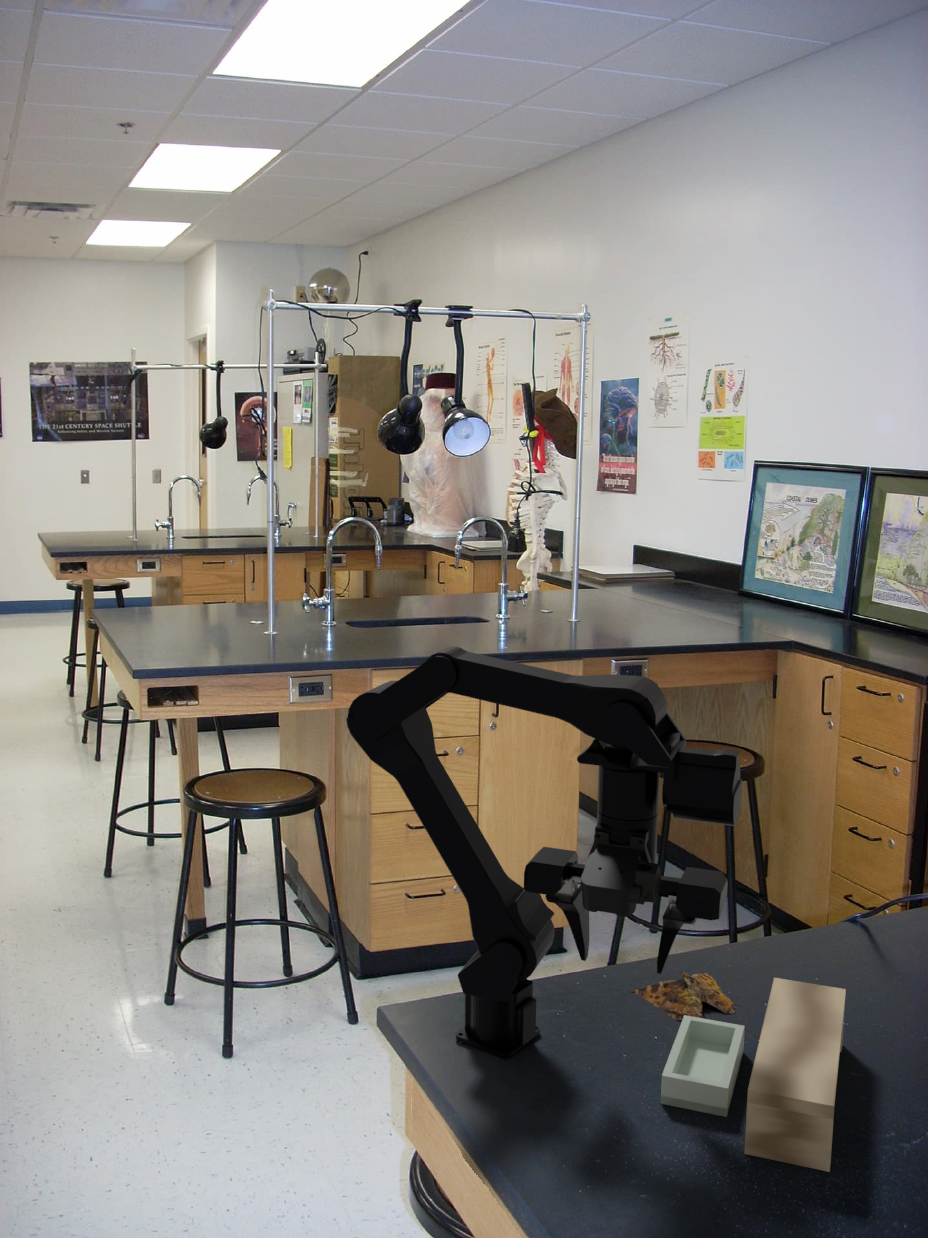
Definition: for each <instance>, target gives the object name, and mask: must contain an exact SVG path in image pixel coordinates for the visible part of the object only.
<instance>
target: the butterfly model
mask: <svg viewBox="0 0 928 1238" xmlns="http://www.w3.org/2000/svg"><path fill="white" fill-rule="evenodd" d="M680 976H681V977H682V978H679V979H672V980H663V981H659V982H655V983H651V984H648V985H644V986H642V987H640V988H637V989H634V990H633V991H630V992H629V993H631V994H636V995H638V996H639V997H640V998H643V999H644V1000H645V1001H647V1002H649V1003H650V1004H652V1005H653V1006H654V1007H656V1008H658V1009H661V1010H662V1011H663V1012H665V1013H666V1014H667V1015H668V1016H669V1017H670V1018H671V1019H673V1020H675V1021H680V1022H682V1020H683V1017H684V1015H687V1016H692V1017H698V1018H703V1019H704V1016H703V1013H702V1012H703V1003H704V1002H705V1003H707V1004H708V1005H710V1006H712V1007H713V1008H714V1009H716V1010H717V1009H718V1010H719V1011H720V1012H721V1013H723V1014H725V1015H734V1014H735V1013H736V1012H737V1011H736V1010H738V1007H737V1006H736V1004H735V1003H734V1001H733V1000H732V999H730V998H729V997H727V996H726V994H724V993H723V992H722V989H721V987H720V986H719V985H718V983H717V981H716V980H715V979H714V978H713V977H712V974H710V973H708V972H707V973H706V972H703V973H699V972H698V973H694V974H692V975H690V973H688V972H687V971H686V972H682V971H681V972H680ZM702 1002H703V1003H702Z"/></svg>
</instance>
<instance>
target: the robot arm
mask: <svg viewBox="0 0 928 1238" xmlns="http://www.w3.org/2000/svg"><path fill="white" fill-rule="evenodd" d="M450 693H451V694H456V695H459V696H463V697H467V698H471V699H475V700H480V701H484V702H488V703H492V704H496V705H500V706H505V707H509V708H513V709H517V710H522V711H526V712H530V713H535V714H538V715H543V716H546V717H550V718H551V717H552V718H555V719H558V720H560V721H563V722H566V723H568V724H570V725H571V726H572V727H574V728H575V729H577V730H578V731H580V732H581V733H583V734H584V735H586V736H588V737H590V738H593V740H592V742H591V744H590V745H589V746H587V747H586V748H585V749H584V750H583V751H582V752H581V753H580V754H578V755H577V757H576V761H577V762H578V763H579V764H583V765H591V766H598V775H597V776H598V778H597V783H598V784H597V805H596V806H597V811H596V812H597V813H596V815H597V816H596V826H595V827H594V835H593V843H592V846H591V848H590V850H589V854H588V856H587V861H586V863H585V864H583V863H579V856H578V853H577V850H570V849H564V848H556V847H548V846H543V847H542V848H541V849H539V850H538V851H537V852H536V853H535V854H534V855H533V857H532V858H531V859H530V860H529V862H527V864H525V869H524V873H523V886H521V885H520V884H519V883H518V882H516V881H514V880H513V879H512V878H511V877H509V876H508V875H507V873H506V871H504V868H503V866H502V865H501V864H500V862H499V860H498V859H497V856H496V854H495V853H494V851H493V850H492V848H491V846H490V844H489V843H488V841H487V839H486V837H485V835H484V834H483V832H482V831H481V829H480V827H479V826H478V823H477V822H476V820H475V819H474V817H473V815H472V813H471V811H470V810H469V808H468V806H467V805H466V802H465V801H464V799H463V798H462V796H461V794H460V793H459V791H458V789H457V788H456V786H455V784H454V782H453V781H452V779H451V777H450V775H449V774H448V772H447V770H446V769H445V766H444V765H443V763H442V762H441V761H440V760H441V759H439V756H438V753H437V751H436V750H437V749H436V744H435V737H434V728H433V724H432V721H431V718H430V715H429V713H428V710H427V709H428V708H429V707H430V706H432V705H433V704H435V703H436V702H438V701H439V700H441V699H442V698H444V697H445V696H446V695H447V694H450ZM667 706H668V702H667V700H666V696H665V693H664V692H663V691H662V689H661V687H659V684H658V683H657V682H655V681H654V680H652V679H650V678H649V677H646V676H641V675H629V674H627V675H625V674H595V675H579V674H578V675H577V674H574V675H572V674H568V673H566V672H559V671H556V670H555V671H554V670H551V669H547V668H543V667H538V666H533V665H529V664H524V663H520V662H516V661H511V660H507V659H503V658H498V657H493V656H489V655H485V654H480V653H476V652H475V653H474V652H472V651H467V650H465V649H463V648H462V647H459V646H448V647H446V648H443V649H441V650H439V651H437V652H435V653H433V654H431V655H430V656H429V657H427V659H426V660H425V662H423V663H421V664H420V665H419V666H417V667H416V668H414V670H412V671H410V672H409V673H407V674H406V675H404V676H403V677H401V678H400V679H398V680H389V681H386V682H384V683H381V684H380V685H378V686H375V687H374V688H372V689H370V690H367V691H366V692H364V693H362V694H359V695H358V696H356V698H354V700H352V702H351V703H350V706H349V708H348V713H347V717H346V719H345V721H346V726H347V729H348V732H349V734H350V735H351V737H352V739H353V740H354V741H355V742H356V743H357V744H358V746H359V747H360V748H361V750H362V751H363V752H364V754H365V755H366V756H367V757H368V758H369V760H370V761H371V762H373V763H374V764H375V765H376V766H378V767H379V768H380V769H382V770H384V771H385V772H387V773H388V774H389V775H390V776H392V777H393V778H394V780H396V781H397V783H398V784H399V786H400V788H401V790H402V792H403V793H404V796H405V797H406V798H407V800H408V802H409V803H410V805H411V807H412V809H413V811H414V813H415V814H416V816H417V818H418V819H419V821H420V823H421V824H422V826H423V828H424V830H425V831H426V833H427V835H428V836H429V838H430V839H431V841H432V844H433V845H434V847H435V849H436V850H437V852H438V853H439V856H440V857H441V859H442V861H443V862H444V864H445V866H446V867H447V869H448V871H449V873H450V874H451V876H452V878H453V879H454V881H455V883H456V885H457V887H458V888H459V890H460V892H461V894H462V896H463V897H464V899H465V900H466V901H465V902H466V903H467V907H468V915H469V921H470V929H471V934H472V935H471V936H472V939H473V941H474V943H475V946H476V948H477V950H476V952H475V953H474V954H473V955H472V956H471V957H470V959H469V960H468V961H467V962H466V964H465V965H464V966H463V967H462V968H461V970H460V971H459V972H458V973H457V979H458V980H459V984H460V988H461V990H462V991H461V992H463V995H464V1027H463V1028H461V1029H460V1030H458V1031H457V1032H456V1033H455V1040H456V1041H459V1042H461V1043H465V1044H467V1045H470V1046H472V1047H476V1048H478V1049H480V1050H484V1051H486V1052H489V1053H491V1054H494V1055H496V1056H499V1057H502V1058H510V1057H512V1056H513V1055H514V1054H516V1053H517V1052H518V1051H519V1050H520V1049H522V1048H523V1047H524V1046H525V1045H527V1044H528V1043H530V1041H532V1040H533V1039H534V1038H536V1036H537V1037H538V1035H539V1034H540V1033H541V1027H540V1026H538V1025H537V999H536V998H535V997H534V996H533V995H534V982H533V980H530V979H529V977H531V975H532V974H533V973H534V972H535V970H536V969H537V967H538V966H539V964H540V963H541V961H542V960H543V959H544V957H545V955H547V953H548V951H549V950H550V948H551V947H552V945H553V943H554V940H555V939H554V938H555V933H556V931H555V926H554V923H553V921H552V918H554V916H555V912H554V911H553V910H552V909H550V907H548V906H547V904H546V903H545V901H544V899H543V897H542V895H545V899H546V901H547V902H548V903H551V904H555V905H556V906H557V907H558V908H559V909H561V911H562V912H563V914H564V916H565V919H566V920H567V923H568V925H569V928H570V930H571V934H572V937H573V940H574V942H575V945H576V949H577V951H578V954H579V958H580V960H581V961H583V962H586V961H587V959H588V956H589V948H590V912H591V913H597V912H601V913H607V914H614V915H616V916H617V917H625V918H626V917H629V916H632V915H633V914H634V913H635V911H636V909H637V905H644V904H645V903H650V904H651V903H652V904H655V903H656V902H657V901H658V898H659V897H661V898H667V903H668V905H667V907H666V909H665V911H664V913H663V915H662V928H661V934H660V939H659V940H660V941H659V947H658V952H657V953H658V954H657V957H656V958H657V959H656V974H660V975H662V973H663V971H664V968H665V965H666V963H667V960H668V959H669V956H670V952H671V950H672V948H673V945H674V943H675V940H676V937H677V936H678V934H679V932H680V930H681V929H682V927H683V925H693V924H695V923H696V922H697V919H701V920H705V921H706V920H707V921H717V920H719V919H720V918H721V915H722V912H723V910H724V907H725V904H726V902H727V900H728V885H729V884H728V883H729V882H728V878H727V877H726V875H725V874H724V873H723V871H719V870H711V869H704V868H696V867H690V866H686V868H685V869H684V871H683V873H682V875H681V877H673V876H666V875H662V871H661V869H660V868H661V867H660V865H659V863H657V845H658V844H657V843H658V825H659V800H660V797H659V796H660V778H661V774H662V773H663V779H662V791H661V795H662V796H661V797H662V799H661V802H662V805H663V806H664V807H666V813H668V814H672V816H673V819H678V820H683V821H684V820H685V821H693V822H694V821H695V822H700V823H701V822H702V823H706V824H707V823H708V824H715V825H724V826H732V827H736V826H737V824H738V821H739V816H740V810H741V804H742V803H741V802H742V795H743V779H741V766H740V752H739V751H738V750H735V749H724V748H723V749H715V750H714V749H706V748H696V747H695V748H694V747H687V746H686V745H687V743H688V742H687V738H685V735H683V734H682V732H681V730H680V729H679V727H678V726H677V724H676V723H675V721H674V719H673V718H672V717H671V715H670V714H669V712H668V711H667V708H668V707H667ZM660 773H661V774H660Z"/></svg>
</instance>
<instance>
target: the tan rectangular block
mask: <svg viewBox="0 0 928 1238" xmlns="http://www.w3.org/2000/svg"><path fill="white" fill-rule="evenodd" d="M846 991H847V989H846V988H841V987H836V986H835V987H834V986H829V985H821V984H816V983H809V982H804V981H798V980H790V979H785V978H781V977H780V978H779V977H773V981H772V985H771V990H770V993H769V998H768V1002H767V1006H766V1010H765V1011H766V1012H765V1015H764V1019H763V1022H762V1023H763V1024H762V1027H761V1032H760V1036H759V1041H758V1044H757V1049H756V1054H755V1058H754V1062H753V1066H752V1070H751V1074H750V1078H749V1084H748V1088H747V1097H746V1098H747V1102H746V1117H745V1118H746V1120H745V1137H744V1140H745V1141H744V1155H748V1156H753V1157H758V1158H763V1159H767V1160H770V1161H771V1160H773V1161H777V1162H781V1163H786V1164H791V1165H794V1166H800V1167H805V1168H807V1169H808V1168H810V1169H815V1170H817V1171H818V1170H819V1171H823V1172H828V1173H830V1172H831V1164H832V1163H831V1161H832V1147H833V1145H832V1144H833V1131H834V1118H835V1117H834V1115H835V1104H836V1103H835V1102H836V1096H837V1095H836V1094H837V1093H836V1092H837V1085H838V1084H837V1083H838V1076H839V1075H838V1074H839V1064H840V1053H842V1050H843V1036H844V1027H845V1025H844V1023H845V1010H846V1009H845V1007H846V994H847V993H846Z"/></svg>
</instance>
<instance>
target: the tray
mask: <svg viewBox="0 0 928 1238" xmlns="http://www.w3.org/2000/svg"><path fill="white" fill-rule="evenodd" d="M680 1022H681V1023H680V1026H679V1028H678V1031H677V1033H676V1036H675V1038H674V1041H673V1044H672V1047H671V1050H670V1052H669V1055H668V1058H667V1061H666V1062H665V1063H666V1064H665V1066H664V1068H663V1071H662V1074H661V1082H660V1083H661V1086H660V1089H661V1090H660V1104H661V1105H666V1106H671V1107H676V1108H681V1109H685V1110H690V1111H695V1112H700V1113H705V1114H710V1115H715V1116H719V1117H720V1116H721V1117H725V1118H727V1117H728V1113H729V1109H730V1105H731V1101H732V1098H733V1093H734V1089H735V1087H736V1082H737V1079H738V1075H739V1071H740V1066H741V1063H742V1059H743V1055H744V1049H745V1045H744V1044H745V1031H746V1030H745V1027H746V1026H745V1025H744V1024H742V1025H741V1024H737V1023H730V1022H727V1021H726V1022H724V1021H720V1020H714V1019H707V1018H704V1017H703V1018H698V1017H692V1016H687V1015H684V1017H683V1020H682V1021H680Z"/></svg>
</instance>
